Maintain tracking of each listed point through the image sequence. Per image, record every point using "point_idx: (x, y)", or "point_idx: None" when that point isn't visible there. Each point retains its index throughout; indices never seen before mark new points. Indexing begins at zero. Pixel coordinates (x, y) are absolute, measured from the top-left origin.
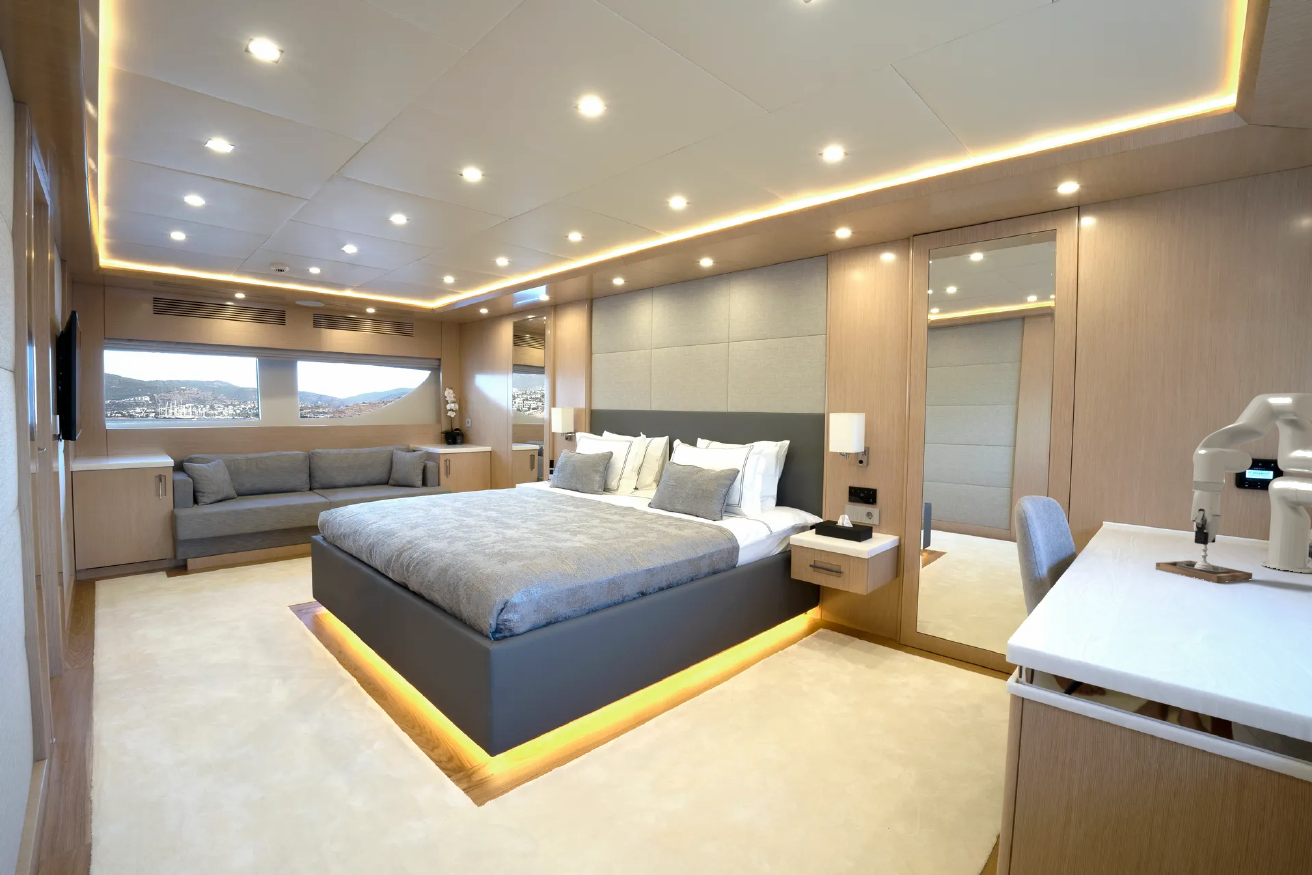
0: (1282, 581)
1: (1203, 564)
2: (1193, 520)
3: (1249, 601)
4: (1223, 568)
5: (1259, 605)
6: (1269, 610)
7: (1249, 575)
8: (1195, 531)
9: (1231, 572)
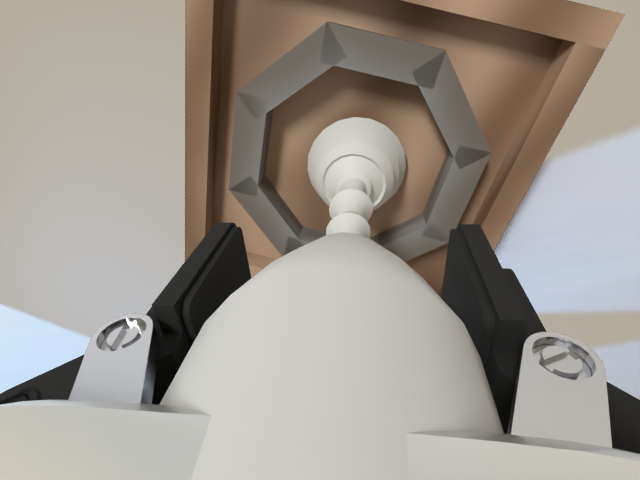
0: None
1: (321, 189)
2: (88, 419)
3: (39, 349)
4: (416, 245)
5: (26, 367)
6: (5, 383)
7: None
8: (159, 300)
9: None
